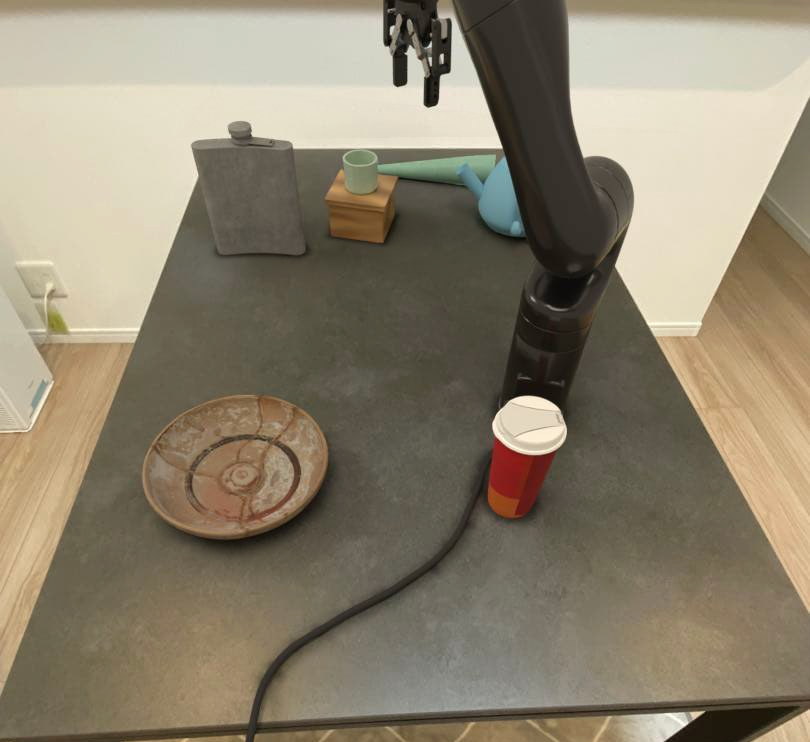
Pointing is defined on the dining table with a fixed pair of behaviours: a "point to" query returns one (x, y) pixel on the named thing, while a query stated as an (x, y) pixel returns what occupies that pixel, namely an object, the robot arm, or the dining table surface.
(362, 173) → the pale green cup
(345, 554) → the dining table surface
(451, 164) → the mint green cone
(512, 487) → the coffee cup
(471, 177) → the teapot
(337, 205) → the riser
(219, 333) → the dining table surface
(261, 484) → the ceramic bowl
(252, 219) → the hip flask
